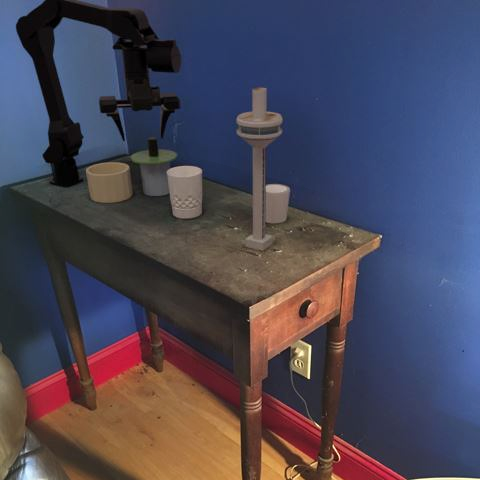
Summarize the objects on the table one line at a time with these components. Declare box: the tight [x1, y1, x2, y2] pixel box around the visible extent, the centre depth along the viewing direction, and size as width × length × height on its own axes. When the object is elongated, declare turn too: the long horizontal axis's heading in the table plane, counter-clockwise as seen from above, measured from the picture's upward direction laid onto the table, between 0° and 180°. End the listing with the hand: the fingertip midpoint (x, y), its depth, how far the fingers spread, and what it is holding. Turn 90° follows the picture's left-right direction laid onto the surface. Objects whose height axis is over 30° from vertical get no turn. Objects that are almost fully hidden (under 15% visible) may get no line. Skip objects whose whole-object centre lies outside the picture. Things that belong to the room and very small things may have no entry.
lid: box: [130, 136, 178, 165], centre depth 138 cm, size 11×11×5 cm
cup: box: [139, 162, 172, 197], centre depth 142 cm, size 7×7×8 cm
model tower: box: [236, 87, 283, 252], centre depth 107 cm, size 8×8×30 cm
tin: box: [85, 161, 133, 204], centre depth 140 cm, size 10×10×7 cm
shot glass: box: [265, 183, 291, 224], centre depth 125 cm, size 7×7×7 cm
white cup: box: [167, 165, 203, 220], centre depth 128 cm, size 8×8×10 cm
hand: (142, 139), depth 138 cm, fingers open, 9 cm apart
